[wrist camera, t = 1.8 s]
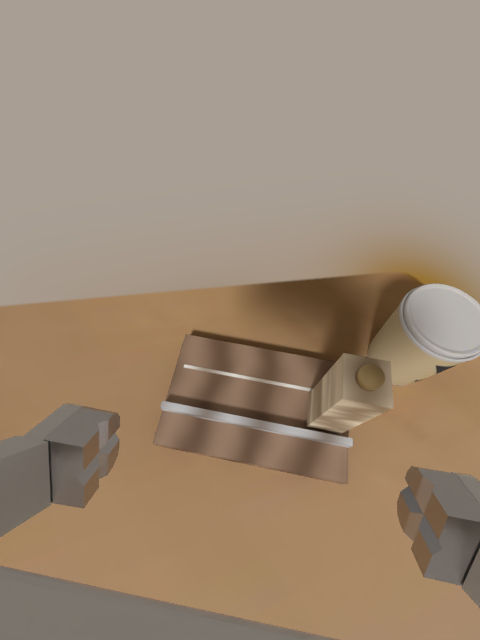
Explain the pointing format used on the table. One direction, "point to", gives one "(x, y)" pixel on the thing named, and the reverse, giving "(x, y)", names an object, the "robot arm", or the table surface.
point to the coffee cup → (428, 333)
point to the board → (250, 409)
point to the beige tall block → (350, 394)
